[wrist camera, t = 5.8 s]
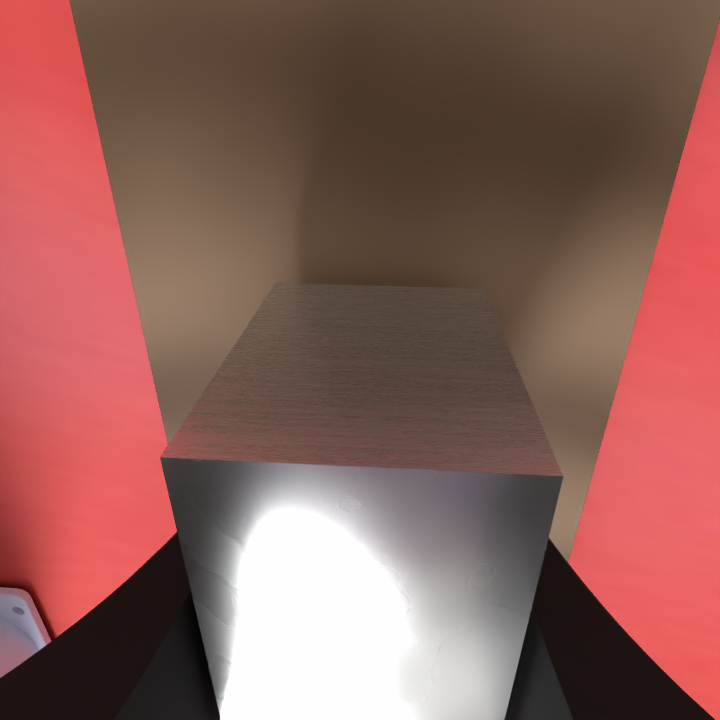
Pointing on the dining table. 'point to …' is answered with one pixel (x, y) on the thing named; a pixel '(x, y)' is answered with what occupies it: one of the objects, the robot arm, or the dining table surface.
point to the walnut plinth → (399, 172)
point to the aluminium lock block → (364, 507)
